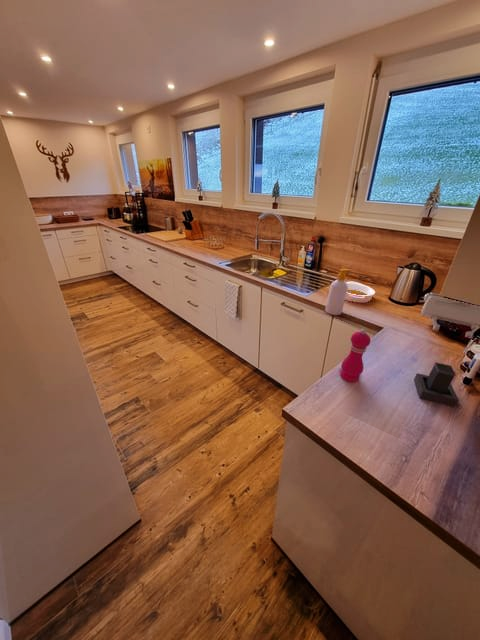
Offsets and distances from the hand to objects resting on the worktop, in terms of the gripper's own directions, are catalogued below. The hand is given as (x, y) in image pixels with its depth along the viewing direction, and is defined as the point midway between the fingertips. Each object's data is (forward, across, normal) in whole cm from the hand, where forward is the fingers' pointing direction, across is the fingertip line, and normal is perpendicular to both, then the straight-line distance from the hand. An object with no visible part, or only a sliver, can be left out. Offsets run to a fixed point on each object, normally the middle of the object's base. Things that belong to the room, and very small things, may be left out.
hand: (451, 333), depth 91 cm
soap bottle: (-10, -44, +36) cm, 57 cm away
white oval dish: (-30, -38, +58) cm, 75 cm away
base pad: (+22, -1, +2) cm, 22 cm away
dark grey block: (+21, -1, +2) cm, 21 cm away
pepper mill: (+26, -27, -2) cm, 38 cm away
